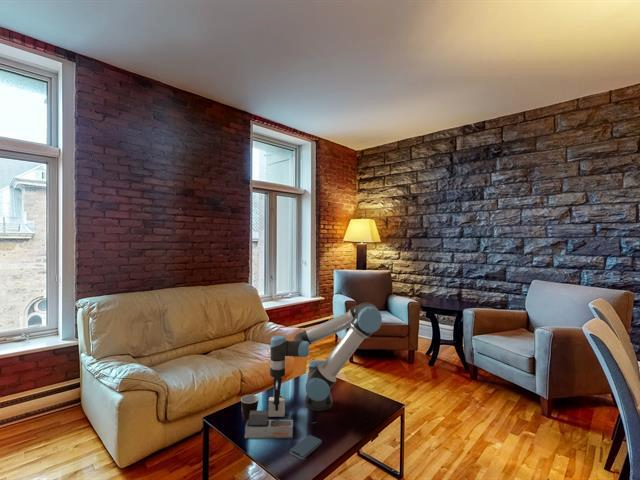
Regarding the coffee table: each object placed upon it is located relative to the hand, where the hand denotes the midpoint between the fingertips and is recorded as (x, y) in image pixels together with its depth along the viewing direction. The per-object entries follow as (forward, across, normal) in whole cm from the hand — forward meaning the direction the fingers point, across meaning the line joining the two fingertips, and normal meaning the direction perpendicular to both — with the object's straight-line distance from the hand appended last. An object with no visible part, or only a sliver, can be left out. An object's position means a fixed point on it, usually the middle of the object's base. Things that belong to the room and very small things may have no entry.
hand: (277, 413), depth 163 cm
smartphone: (+2, +26, +14) cm, 29 cm away
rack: (+1, +14, -2) cm, 15 cm away
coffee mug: (+1, +2, -13) cm, 13 cm away
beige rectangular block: (0, 0, 0) cm, 1 cm away
